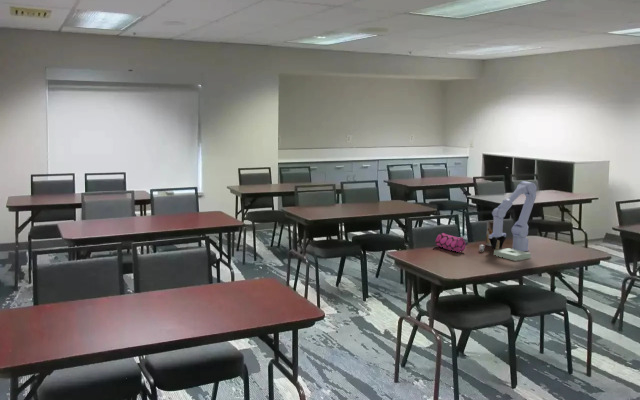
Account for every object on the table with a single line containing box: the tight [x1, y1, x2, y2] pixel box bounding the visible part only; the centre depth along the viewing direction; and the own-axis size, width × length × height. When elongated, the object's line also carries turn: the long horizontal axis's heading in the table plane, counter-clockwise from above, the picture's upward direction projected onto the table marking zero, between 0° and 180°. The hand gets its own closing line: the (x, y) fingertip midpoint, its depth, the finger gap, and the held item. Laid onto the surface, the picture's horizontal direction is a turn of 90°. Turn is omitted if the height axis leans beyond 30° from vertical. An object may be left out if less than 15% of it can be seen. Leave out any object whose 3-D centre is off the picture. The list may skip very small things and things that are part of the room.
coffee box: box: [485, 220, 504, 247], centre depth 372 cm, size 9×6×16 cm
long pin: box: [493, 240, 500, 251], centre depth 356 cm, size 3×3×7 cm
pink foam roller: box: [435, 232, 468, 253], centre depth 360 cm, size 21×10×10 cm, turn 30°
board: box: [493, 247, 532, 261], centre depth 343 cm, size 14×16×3 cm
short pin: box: [478, 244, 486, 252], centre depth 356 cm, size 3×3×4 cm
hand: (496, 248), depth 356 cm, fingers open, 5 cm apart
